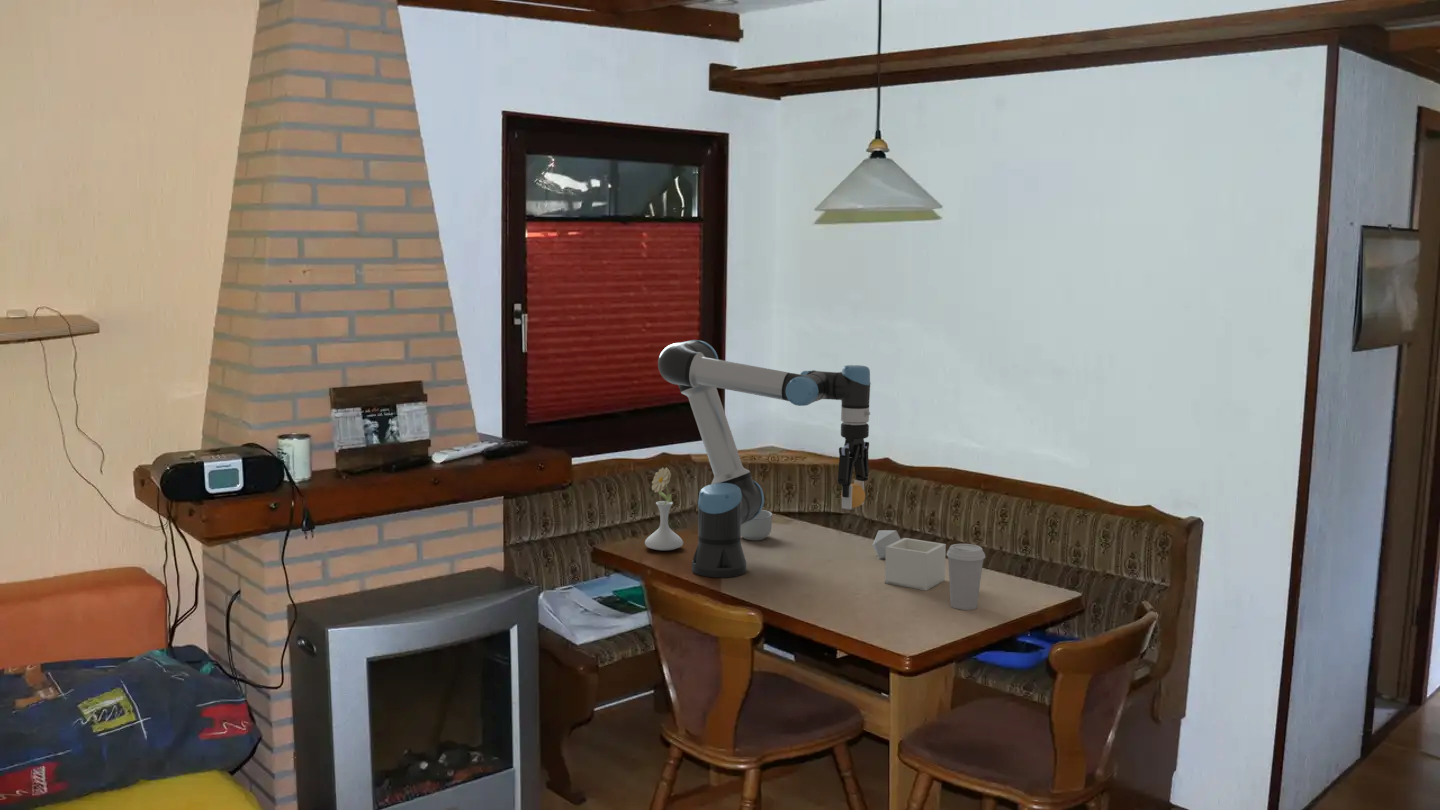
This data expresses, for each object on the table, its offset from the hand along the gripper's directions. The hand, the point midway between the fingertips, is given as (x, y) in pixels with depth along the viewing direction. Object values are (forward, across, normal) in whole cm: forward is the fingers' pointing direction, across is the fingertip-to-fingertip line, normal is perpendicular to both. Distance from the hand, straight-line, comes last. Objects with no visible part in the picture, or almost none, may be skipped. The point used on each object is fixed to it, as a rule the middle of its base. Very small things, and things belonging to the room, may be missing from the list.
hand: (852, 506), depth 320 cm
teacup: (+19, +18, +44) cm, 51 cm away
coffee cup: (+19, -11, -37) cm, 43 cm away
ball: (0, 0, 0) cm, 0 cm away
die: (+19, +21, -1) cm, 28 cm away
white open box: (+19, +2, -18) cm, 26 cm away
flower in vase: (+19, -9, +57) cm, 61 cm away
